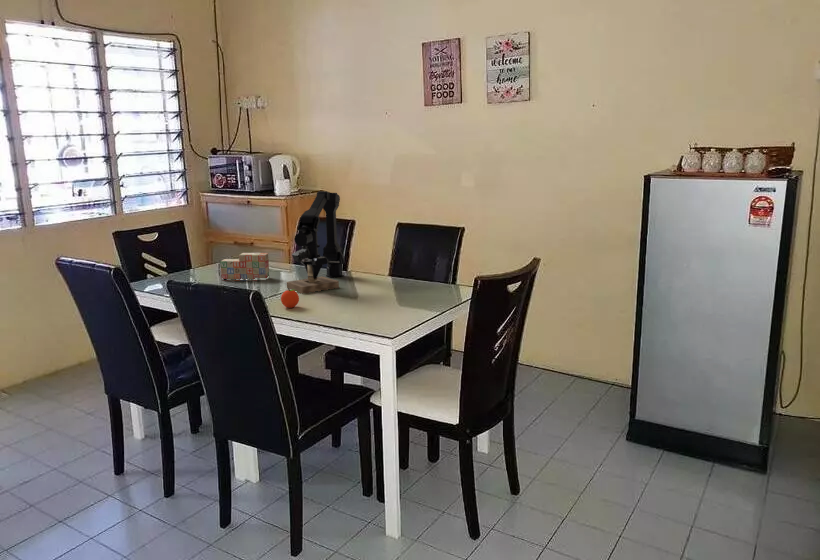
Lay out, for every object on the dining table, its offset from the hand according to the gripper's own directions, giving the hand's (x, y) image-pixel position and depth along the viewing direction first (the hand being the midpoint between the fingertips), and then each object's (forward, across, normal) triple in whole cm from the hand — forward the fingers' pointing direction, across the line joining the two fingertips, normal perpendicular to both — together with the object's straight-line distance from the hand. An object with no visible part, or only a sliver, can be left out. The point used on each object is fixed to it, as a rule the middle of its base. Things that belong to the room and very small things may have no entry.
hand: (312, 278), depth 284 cm
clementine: (+5, +24, -23) cm, 34 cm away
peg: (+2, 0, 0) cm, 2 cm away
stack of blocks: (+5, -39, -14) cm, 42 cm away
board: (+4, 0, 0) cm, 5 cm away
